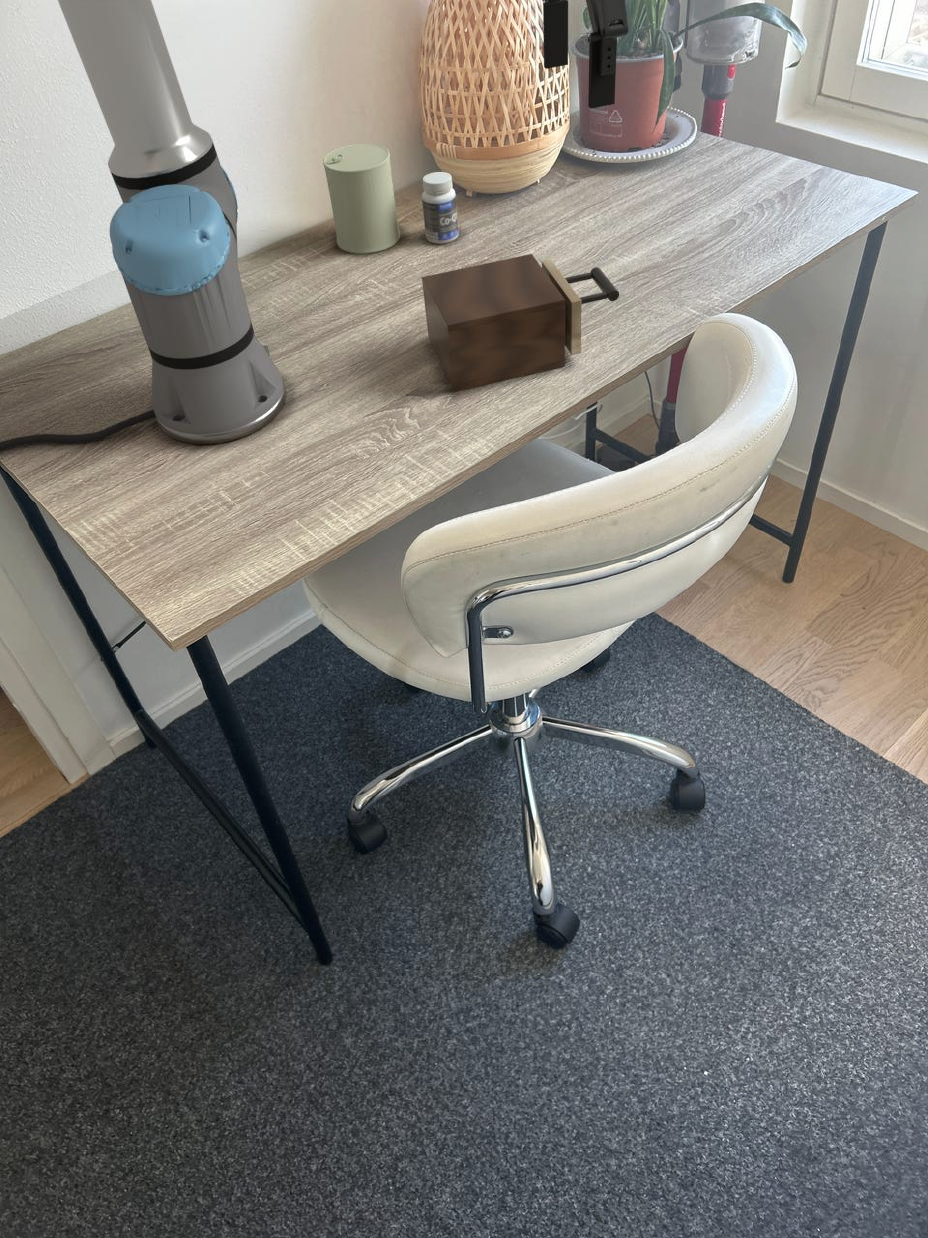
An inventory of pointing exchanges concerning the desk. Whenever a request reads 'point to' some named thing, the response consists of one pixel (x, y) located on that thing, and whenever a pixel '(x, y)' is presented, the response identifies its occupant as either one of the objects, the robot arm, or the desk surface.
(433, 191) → the pill bottle
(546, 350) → the cabinet
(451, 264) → the desk surface
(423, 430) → the desk surface
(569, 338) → the drawer
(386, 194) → the can
